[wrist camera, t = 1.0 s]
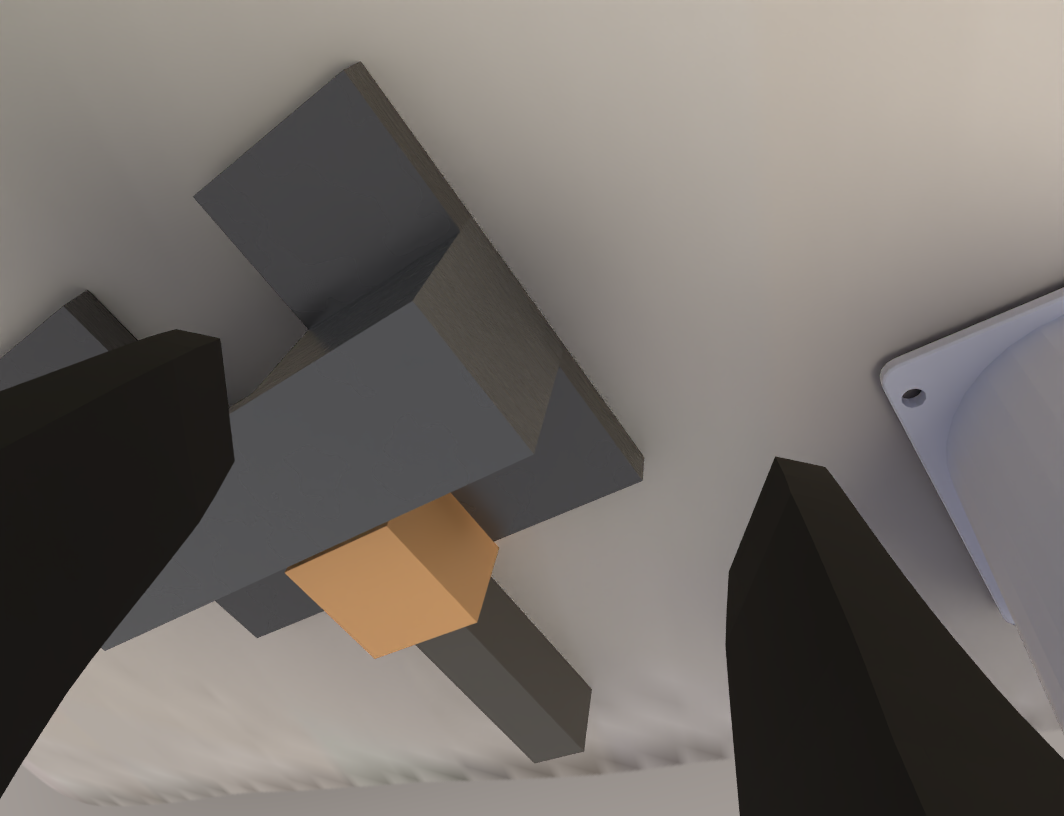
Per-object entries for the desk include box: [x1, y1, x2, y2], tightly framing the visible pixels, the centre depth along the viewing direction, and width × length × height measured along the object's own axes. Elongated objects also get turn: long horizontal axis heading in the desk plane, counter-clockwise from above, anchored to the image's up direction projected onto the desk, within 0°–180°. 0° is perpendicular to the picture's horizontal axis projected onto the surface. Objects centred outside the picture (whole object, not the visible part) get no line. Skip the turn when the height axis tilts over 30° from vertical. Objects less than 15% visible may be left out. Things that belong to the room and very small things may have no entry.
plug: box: [284, 493, 592, 763], centre depth 24 cm, size 11×4×3 cm, turn 35°
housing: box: [0, 62, 644, 651], centre depth 20 cm, size 12×16×5 cm
